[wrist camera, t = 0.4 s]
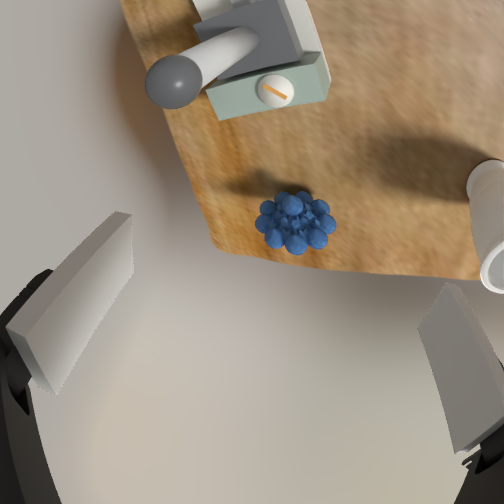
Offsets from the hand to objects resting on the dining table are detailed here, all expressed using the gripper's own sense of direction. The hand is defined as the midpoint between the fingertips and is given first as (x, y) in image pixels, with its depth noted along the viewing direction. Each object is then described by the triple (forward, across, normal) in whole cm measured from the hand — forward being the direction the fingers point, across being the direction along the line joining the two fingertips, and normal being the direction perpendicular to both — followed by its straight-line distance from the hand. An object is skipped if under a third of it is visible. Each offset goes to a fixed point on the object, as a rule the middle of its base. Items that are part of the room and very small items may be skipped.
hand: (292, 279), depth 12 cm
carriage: (+24, -6, +12) cm, 28 cm away
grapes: (+35, +4, -8) cm, 36 cm away
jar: (+27, +29, +4) cm, 40 cm away
